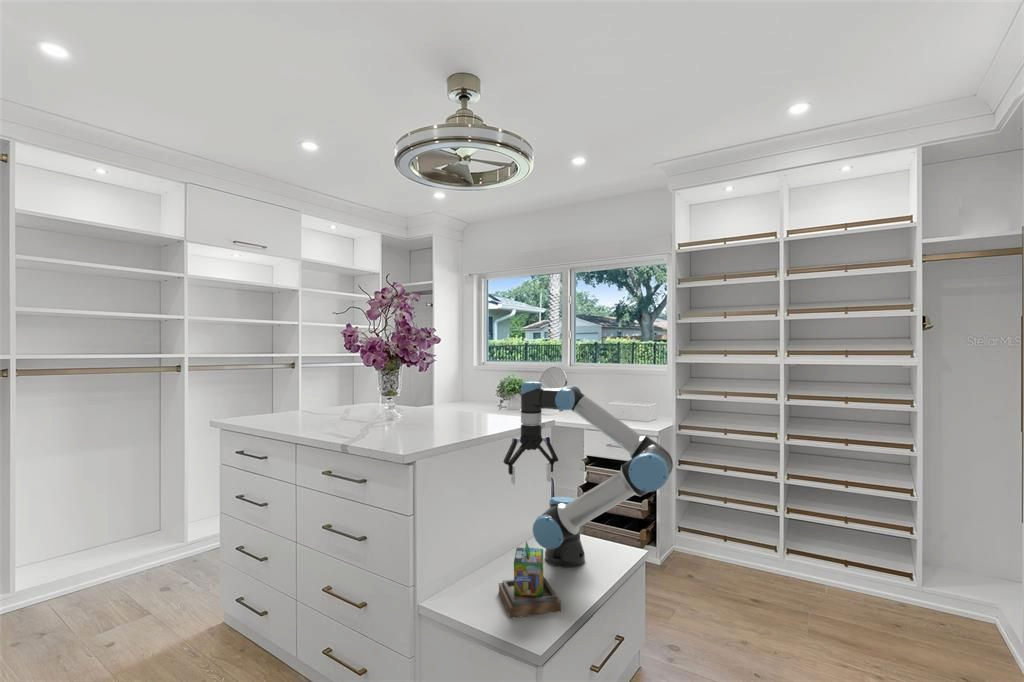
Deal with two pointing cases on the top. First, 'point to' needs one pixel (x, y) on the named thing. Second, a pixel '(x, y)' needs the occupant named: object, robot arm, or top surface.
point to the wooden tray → (528, 600)
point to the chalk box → (528, 572)
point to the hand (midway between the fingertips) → (531, 482)
